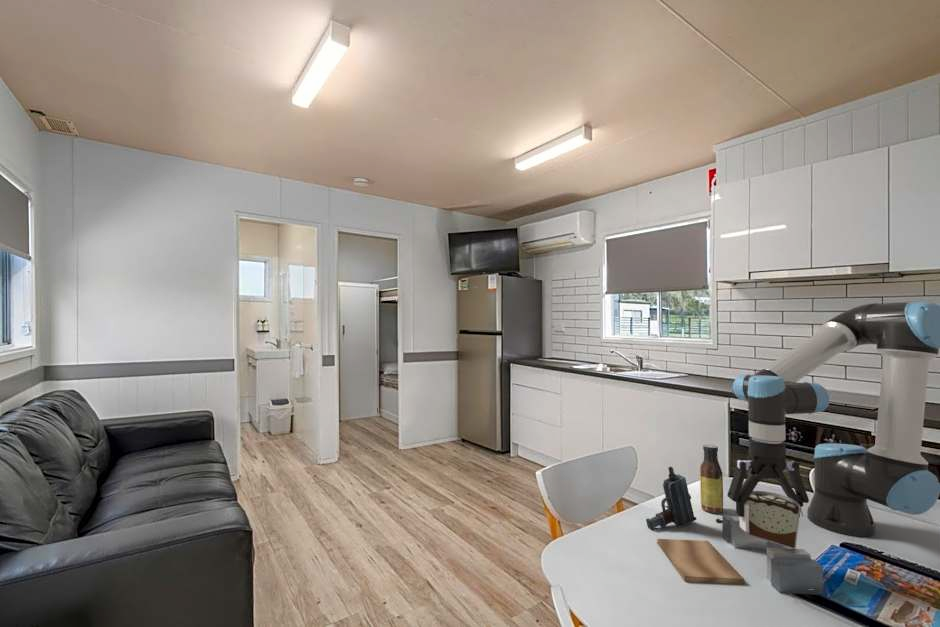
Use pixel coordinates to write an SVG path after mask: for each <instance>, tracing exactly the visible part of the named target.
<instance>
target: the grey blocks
mask: <svg viewBox="0 0 940 627" xmlns="http://www.w3.org/2000/svg"><path fill="white" fill-rule="evenodd" d="M715 522H716V523H717V524H721V526H722V527H721V528H722V532H721V534H722V538H723V540H725V542H727V543H728V544H731V545H732V546H733V548H734V549H735V548H736V549H758V550H759V549H760V550H766V579H767V580H768V581H769V583H770V585H771V586H772V587H773V588H774V589H775V590H776V591H778V592H777V593H779V594H794V595H795V594H796V595H797V594H798V595H799V594H800V595H814V596H815V595H818V596H823V595H824V566H822V564H820V563H818V561H817V560H815V559H813V558H812V555H811V553H809V552H808V551H807V550H805V549H804V548H795V549H793V548H789V547H786V548H785V547H784V548H783V547H779V548H778V547H768V541H766V540H763V539H759V538H756V537H753V536H749V534H748V532H745V531H744V530H743V529H742V528H741V527H740V516H739V515H724V514H723V515H722V518H716V519H715ZM808 589H814V590H808Z"/></svg>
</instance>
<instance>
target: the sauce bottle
mask: <svg viewBox="0 0 940 627" xmlns="http://www.w3.org/2000/svg"><path fill="white" fill-rule="evenodd" d="M702 446H703V447H702V449H703V461H702V463H701V464H700V467H699V469H700V471H699V472H700V473H699V474H700V475H699V480H700V481H699V484H700V485H699V488H700V504H701V505H700V508H701V509H702V510H703V511H705V512H706V513H711V514H721V513H723V511H724V478H723V477H724V476H723V475H724V474H723V470H722V468H721V465H720V463H719V459H718V452H719V449H718V448H719V447H718V446H717V445H713V444H703V445H702Z"/></svg>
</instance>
